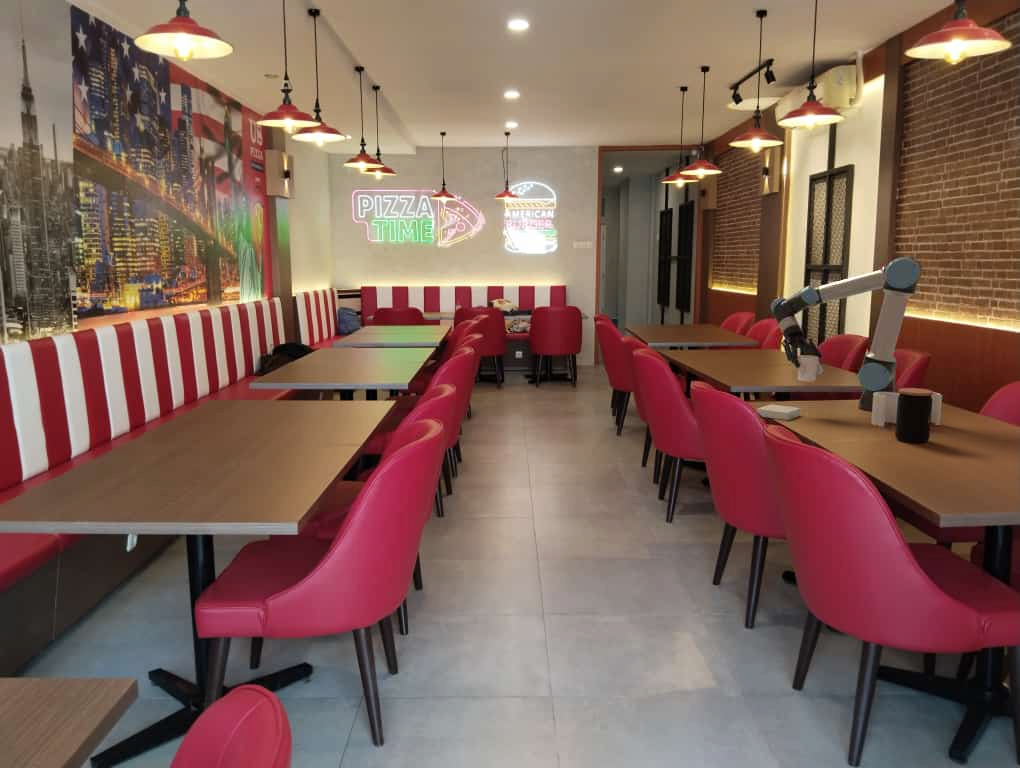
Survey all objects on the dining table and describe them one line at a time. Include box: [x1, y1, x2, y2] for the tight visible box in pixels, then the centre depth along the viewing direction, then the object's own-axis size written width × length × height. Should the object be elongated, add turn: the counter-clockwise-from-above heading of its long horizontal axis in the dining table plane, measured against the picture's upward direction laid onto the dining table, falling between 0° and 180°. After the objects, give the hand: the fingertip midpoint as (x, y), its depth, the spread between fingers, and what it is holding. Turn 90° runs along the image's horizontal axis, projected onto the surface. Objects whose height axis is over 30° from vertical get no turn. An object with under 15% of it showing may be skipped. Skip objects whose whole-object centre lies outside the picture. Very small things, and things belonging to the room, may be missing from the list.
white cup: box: [797, 354, 819, 383], centre depth 308 cm, size 8×8×10 cm
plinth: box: [756, 404, 802, 421], centre depth 307 cm, size 13×13×3 cm
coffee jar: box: [894, 387, 934, 444], centre depth 262 cm, size 11×11×18 cm
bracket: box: [870, 391, 943, 428], centre depth 289 cm, size 25×10×12 cm, turn 91°
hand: (812, 373), depth 305 cm, fingers closed on white cup, 8 cm apart
